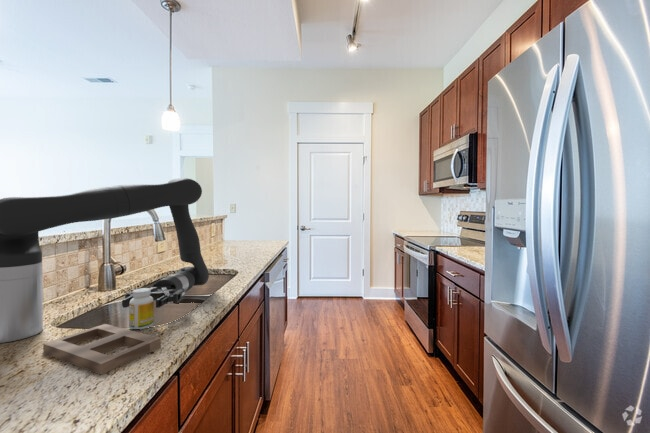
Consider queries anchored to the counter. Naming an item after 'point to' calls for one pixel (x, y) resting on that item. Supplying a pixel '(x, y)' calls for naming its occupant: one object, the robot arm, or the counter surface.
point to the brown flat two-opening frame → (101, 347)
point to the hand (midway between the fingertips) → (140, 303)
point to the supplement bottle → (141, 309)
